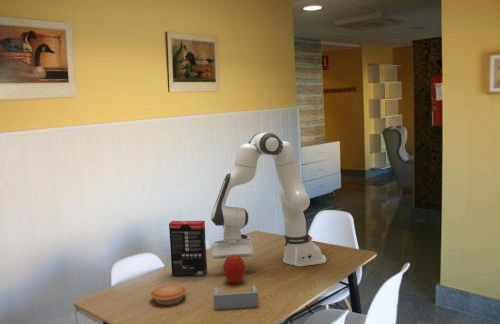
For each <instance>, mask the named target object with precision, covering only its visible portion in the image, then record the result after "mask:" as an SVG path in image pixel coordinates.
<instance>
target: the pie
mask: <svg viewBox="0 0 500 324" xmlns="http://www.w3.org/2000/svg"><path fill="white" fill-rule="evenodd" d="M187 290H188V289H187V288H186V287H185V286H182V285H179V284H175V283H174V284H171V283H170V284H164V285H161V286H158V287H157V288H154V289H153V290H152V291H151V292H150V297H151V298H152V299H153V300H154V301H155V302H156V303H157V304H158V305H161V304H162V305H161V306H171V305H175V304H178V303H180V302H181V301H182V300H183V298H184V297H185V295H186V293H187Z"/></svg>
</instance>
